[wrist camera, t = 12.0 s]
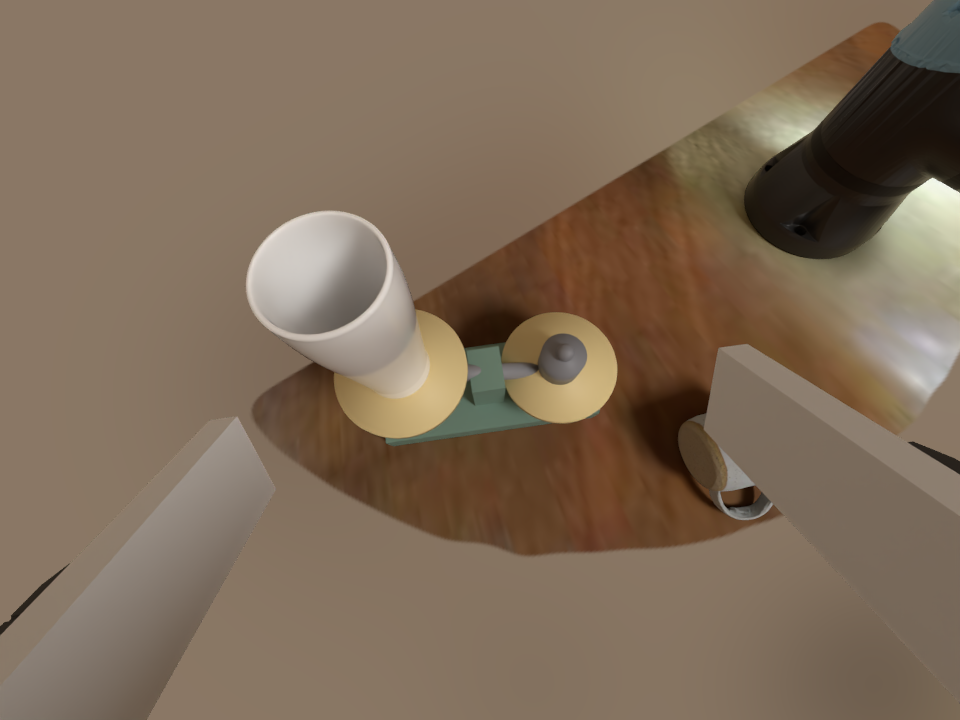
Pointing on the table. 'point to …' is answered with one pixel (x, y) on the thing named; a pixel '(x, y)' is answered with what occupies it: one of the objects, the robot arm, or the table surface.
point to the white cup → (340, 301)
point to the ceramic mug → (716, 469)
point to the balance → (493, 382)
